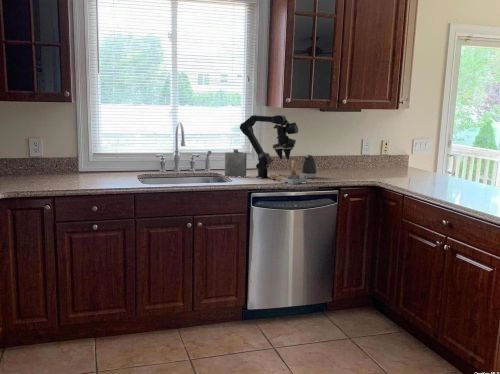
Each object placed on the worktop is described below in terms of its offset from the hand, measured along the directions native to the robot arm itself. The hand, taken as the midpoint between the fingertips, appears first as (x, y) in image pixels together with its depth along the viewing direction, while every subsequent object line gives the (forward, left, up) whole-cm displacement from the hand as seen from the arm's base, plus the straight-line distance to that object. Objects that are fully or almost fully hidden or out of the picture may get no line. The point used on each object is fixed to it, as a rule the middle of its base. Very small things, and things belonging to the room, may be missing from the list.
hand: (284, 159), depth 320 cm
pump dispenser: (+2, +19, -13) cm, 23 cm away
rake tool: (+11, -1, -12) cm, 17 cm away
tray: (+11, -1, -13) cm, 17 cm away
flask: (-26, -20, -13) cm, 36 cm away
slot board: (-1, -1, -13) cm, 13 cm away
